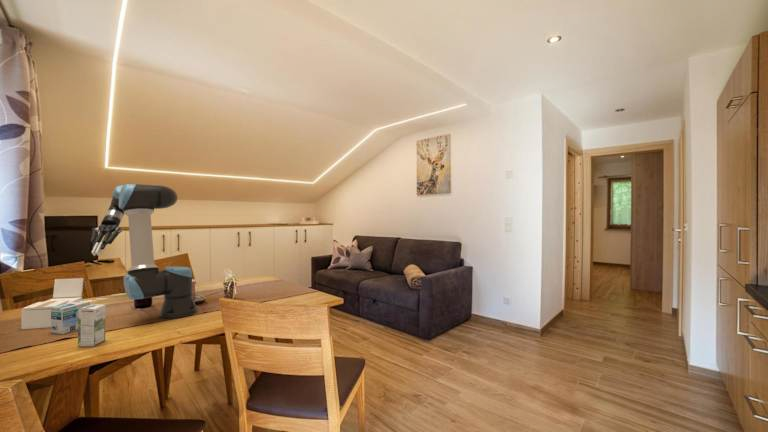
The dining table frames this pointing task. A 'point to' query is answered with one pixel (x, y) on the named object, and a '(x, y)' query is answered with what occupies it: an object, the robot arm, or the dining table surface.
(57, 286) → the flap
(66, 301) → the carton
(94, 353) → the dining table surface
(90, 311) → the syrup box
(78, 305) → the light bulb box
